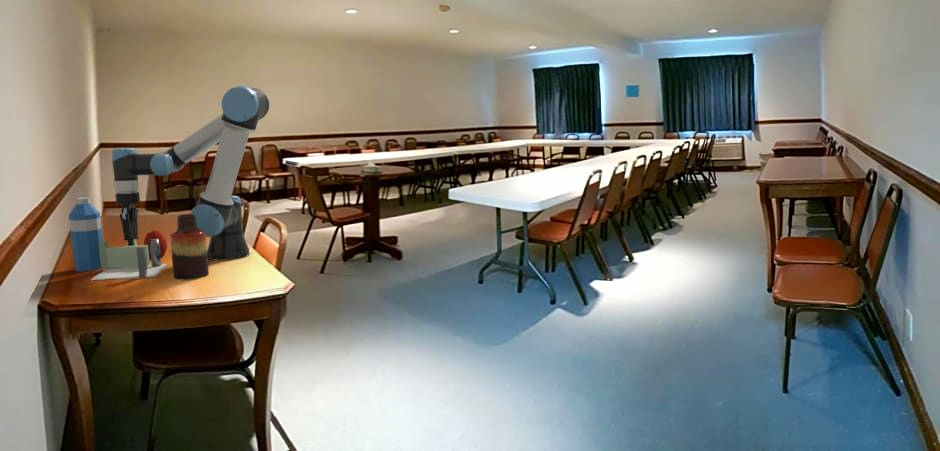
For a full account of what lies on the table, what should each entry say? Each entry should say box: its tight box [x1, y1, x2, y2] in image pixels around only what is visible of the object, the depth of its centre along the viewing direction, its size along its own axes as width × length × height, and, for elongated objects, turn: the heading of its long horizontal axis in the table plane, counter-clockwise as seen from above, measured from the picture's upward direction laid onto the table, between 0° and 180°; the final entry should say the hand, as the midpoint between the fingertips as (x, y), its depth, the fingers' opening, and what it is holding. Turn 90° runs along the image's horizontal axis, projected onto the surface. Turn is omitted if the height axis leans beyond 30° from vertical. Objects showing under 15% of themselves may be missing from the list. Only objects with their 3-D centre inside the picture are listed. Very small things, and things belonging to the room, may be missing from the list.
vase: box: [169, 213, 210, 281], centre depth 216 cm, size 11×11×20 cm
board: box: [90, 263, 169, 282], centre depth 223 cm, size 19×18×1 cm
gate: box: [98, 240, 151, 269], centre depth 228 cm, size 15×2×9 cm, turn 101°
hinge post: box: [149, 239, 162, 267], centre depth 230 cm, size 3×3×10 cm
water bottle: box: [68, 196, 104, 272], centre depth 229 cm, size 9×9×25 cm
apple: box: [143, 230, 168, 258], centre depth 248 cm, size 8×8×11 cm
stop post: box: [136, 247, 147, 279], centre depth 215 cm, size 2×2×10 cm
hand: (133, 257), depth 234 cm, fingers closed
